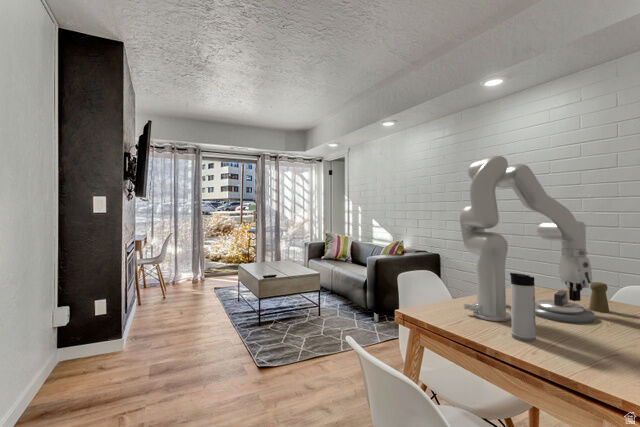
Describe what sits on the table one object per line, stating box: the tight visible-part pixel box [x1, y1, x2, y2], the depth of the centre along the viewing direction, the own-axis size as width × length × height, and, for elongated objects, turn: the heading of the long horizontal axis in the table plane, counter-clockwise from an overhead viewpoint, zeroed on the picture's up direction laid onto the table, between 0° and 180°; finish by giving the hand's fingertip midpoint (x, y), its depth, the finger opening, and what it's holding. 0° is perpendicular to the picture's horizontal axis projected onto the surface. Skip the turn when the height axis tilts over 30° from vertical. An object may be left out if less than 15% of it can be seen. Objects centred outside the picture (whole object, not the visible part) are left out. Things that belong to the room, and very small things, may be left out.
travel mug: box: [509, 272, 537, 343], centre depth 97 cm, size 6×7×20 cm
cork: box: [589, 281, 610, 314], centre depth 124 cm, size 6×6×11 cm
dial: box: [536, 288, 585, 314], centre depth 120 cm, size 17×14×6 cm
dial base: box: [535, 301, 596, 324], centre depth 119 cm, size 20×20×3 cm
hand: (574, 300), depth 121 cm, fingers closed
